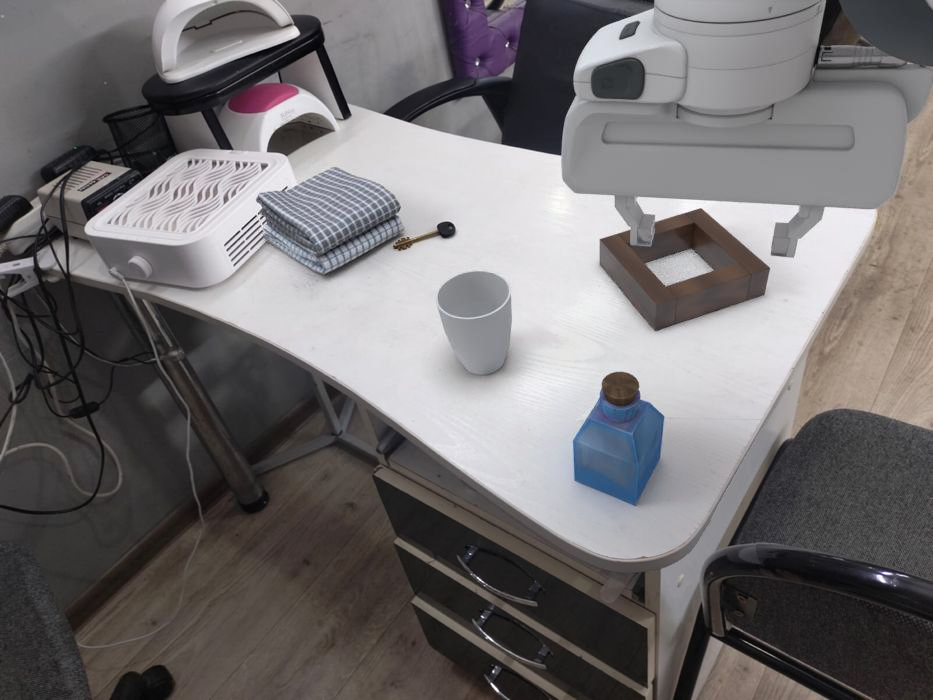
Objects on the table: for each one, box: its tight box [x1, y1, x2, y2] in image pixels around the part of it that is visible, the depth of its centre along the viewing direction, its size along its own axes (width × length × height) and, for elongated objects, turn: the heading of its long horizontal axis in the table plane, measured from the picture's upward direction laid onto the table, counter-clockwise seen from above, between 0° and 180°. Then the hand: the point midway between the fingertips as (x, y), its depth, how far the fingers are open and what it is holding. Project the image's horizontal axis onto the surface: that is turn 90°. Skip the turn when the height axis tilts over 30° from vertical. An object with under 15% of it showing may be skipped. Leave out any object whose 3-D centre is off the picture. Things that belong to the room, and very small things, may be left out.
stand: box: [599, 207, 771, 332], centre depth 84 cm, size 14×14×4 cm
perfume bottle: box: [572, 371, 665, 507], centre depth 62 cm, size 6×6×12 cm
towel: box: [255, 166, 405, 275], centre depth 100 cm, size 15×18×8 cm
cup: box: [435, 269, 513, 376], centre depth 76 cm, size 8×8×10 cm
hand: (709, 246), depth 48 cm, fingers open, 8 cm apart
